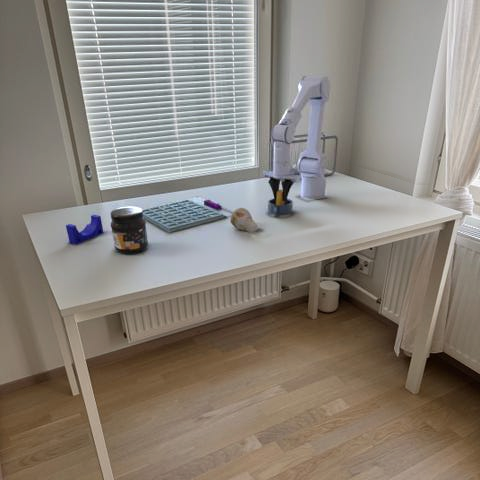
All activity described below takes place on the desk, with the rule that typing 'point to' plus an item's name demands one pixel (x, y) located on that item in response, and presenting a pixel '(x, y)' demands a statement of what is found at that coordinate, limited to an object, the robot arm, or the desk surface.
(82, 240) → the cable clip
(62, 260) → the desk surface
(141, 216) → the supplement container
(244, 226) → the rock
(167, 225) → the calendar
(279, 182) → the robot arm
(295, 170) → the newton's cradle
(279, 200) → the peg
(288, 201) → the cup
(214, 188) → the desk surface
